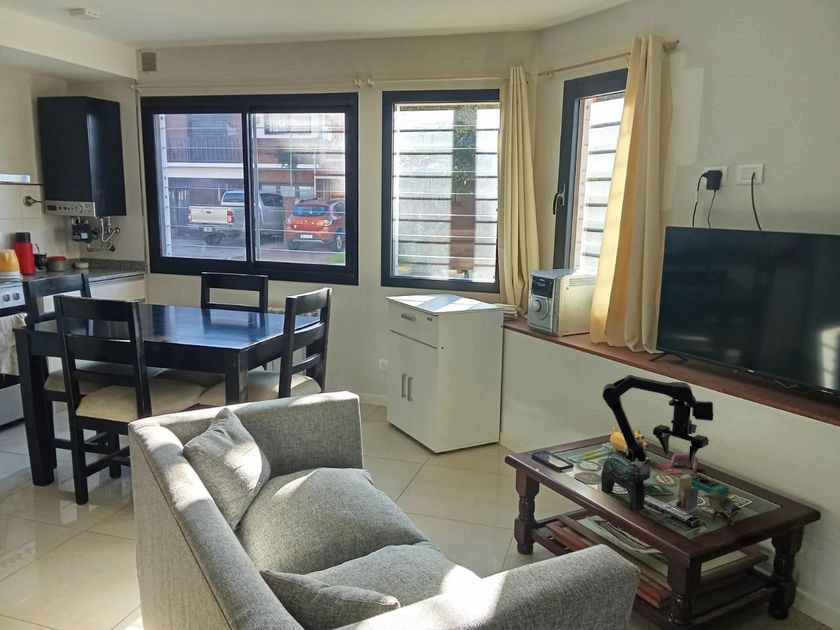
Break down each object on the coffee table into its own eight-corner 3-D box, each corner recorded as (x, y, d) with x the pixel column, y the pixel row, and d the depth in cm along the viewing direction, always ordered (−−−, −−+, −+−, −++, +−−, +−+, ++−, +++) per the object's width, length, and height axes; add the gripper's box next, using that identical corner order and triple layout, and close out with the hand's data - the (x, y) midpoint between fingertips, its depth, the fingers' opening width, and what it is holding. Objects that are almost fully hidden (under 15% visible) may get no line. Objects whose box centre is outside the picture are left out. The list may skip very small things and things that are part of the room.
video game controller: (697, 473, 255) (699, 455, 257) (696, 471, 252) (698, 454, 253) (671, 467, 260) (673, 450, 262) (669, 466, 257) (672, 449, 258)
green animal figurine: (649, 510, 221) (653, 456, 218) (635, 514, 219) (639, 459, 215) (609, 487, 239) (612, 437, 235) (595, 491, 236) (598, 440, 233)
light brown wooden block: (674, 505, 222) (676, 478, 220) (685, 501, 225) (687, 474, 223) (680, 508, 220) (682, 481, 218) (691, 504, 223) (693, 477, 221)
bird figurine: (724, 502, 226) (712, 464, 216) (752, 514, 218) (741, 474, 208) (704, 530, 221) (691, 492, 211) (732, 543, 213) (719, 504, 203)
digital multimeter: (693, 478, 248) (694, 471, 247) (729, 493, 235) (730, 485, 235) (681, 483, 244) (682, 475, 243) (717, 498, 232) (717, 490, 231)
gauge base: (666, 506, 225) (667, 484, 223) (679, 501, 228) (681, 479, 227) (684, 514, 218) (686, 492, 217) (697, 509, 222) (699, 487, 221)
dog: (639, 466, 258) (641, 436, 255) (603, 449, 275) (605, 421, 273) (653, 463, 261) (655, 433, 259) (617, 446, 279) (619, 418, 276)
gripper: (717, 419, 232) (713, 459, 235) (668, 406, 246) (665, 445, 248) (703, 426, 225) (699, 468, 227) (653, 413, 238) (650, 452, 241)
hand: (678, 458), depth 236 cm, fingers open, 9 cm apart
